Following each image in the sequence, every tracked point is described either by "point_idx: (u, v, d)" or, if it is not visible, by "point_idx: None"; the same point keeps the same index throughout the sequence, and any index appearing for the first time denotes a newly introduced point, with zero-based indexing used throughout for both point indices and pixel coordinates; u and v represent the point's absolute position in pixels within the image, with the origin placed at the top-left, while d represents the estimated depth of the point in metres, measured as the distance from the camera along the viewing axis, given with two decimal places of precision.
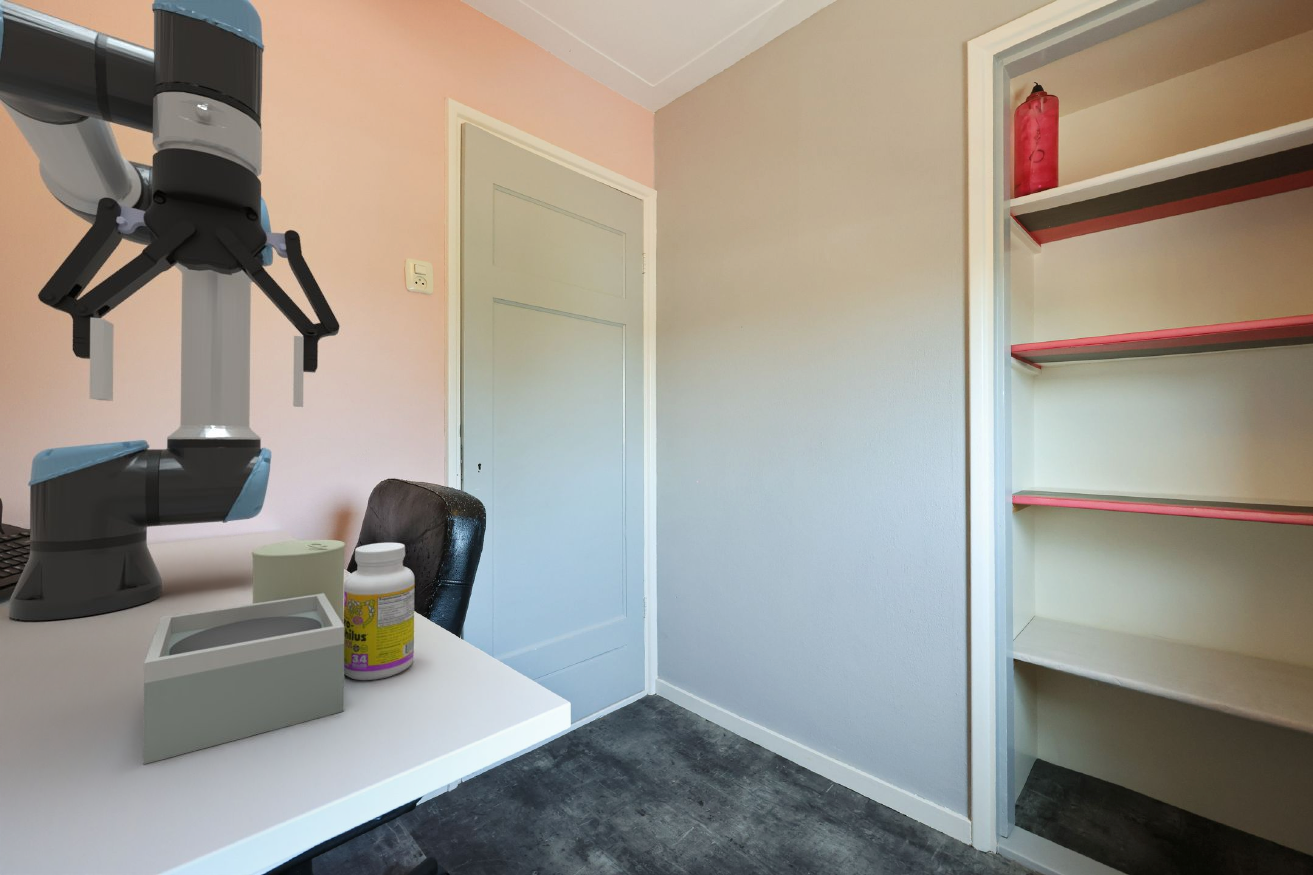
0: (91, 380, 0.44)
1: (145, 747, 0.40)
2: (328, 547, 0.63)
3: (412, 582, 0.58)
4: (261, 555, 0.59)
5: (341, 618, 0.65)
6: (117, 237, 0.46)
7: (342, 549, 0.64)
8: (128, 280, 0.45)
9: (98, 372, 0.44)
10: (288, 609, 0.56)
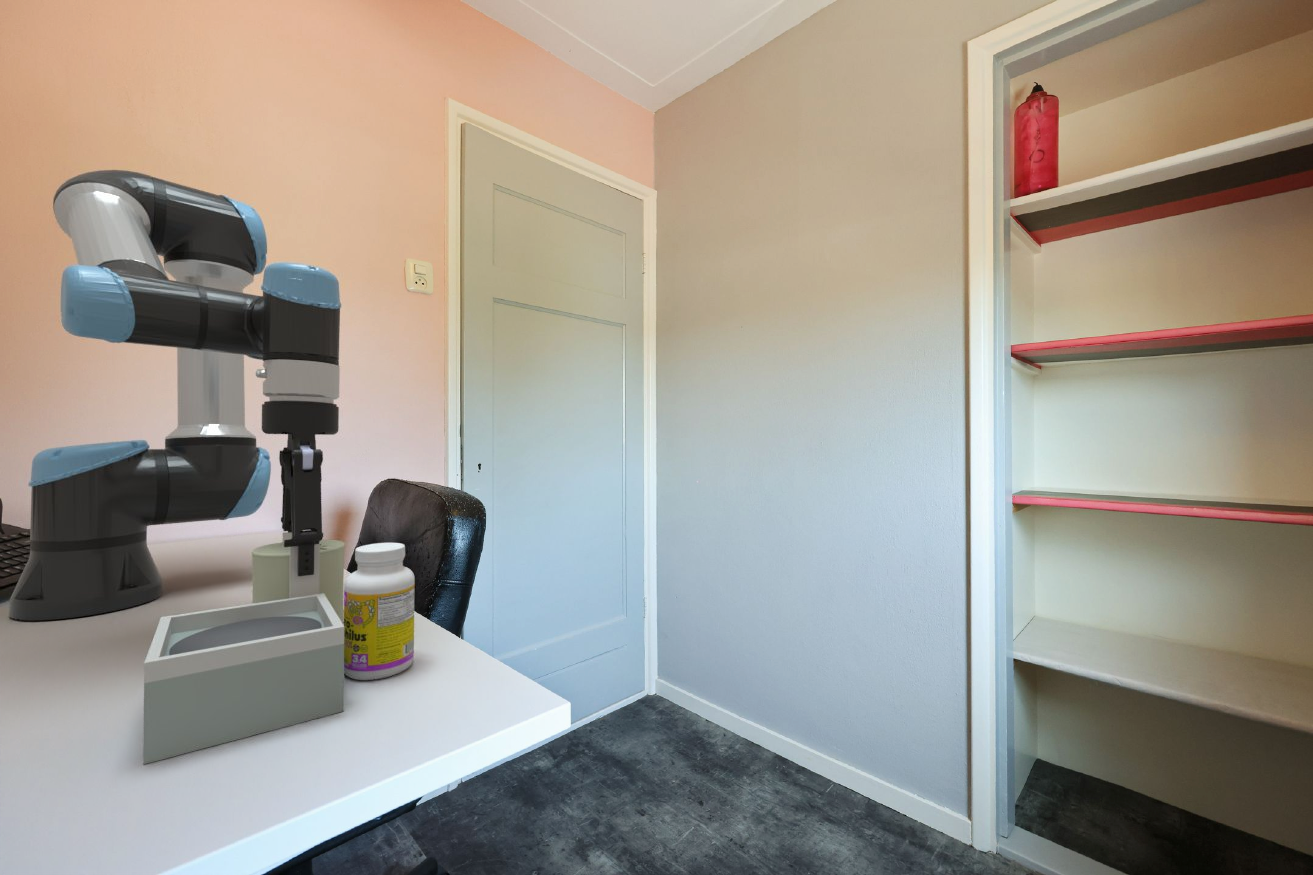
0: None
1: (145, 747, 0.40)
2: (328, 547, 0.63)
3: (412, 582, 0.58)
4: (261, 555, 0.59)
5: (341, 618, 0.65)
6: None
7: (342, 549, 0.64)
8: (285, 501, 0.66)
9: None
10: (288, 609, 0.56)
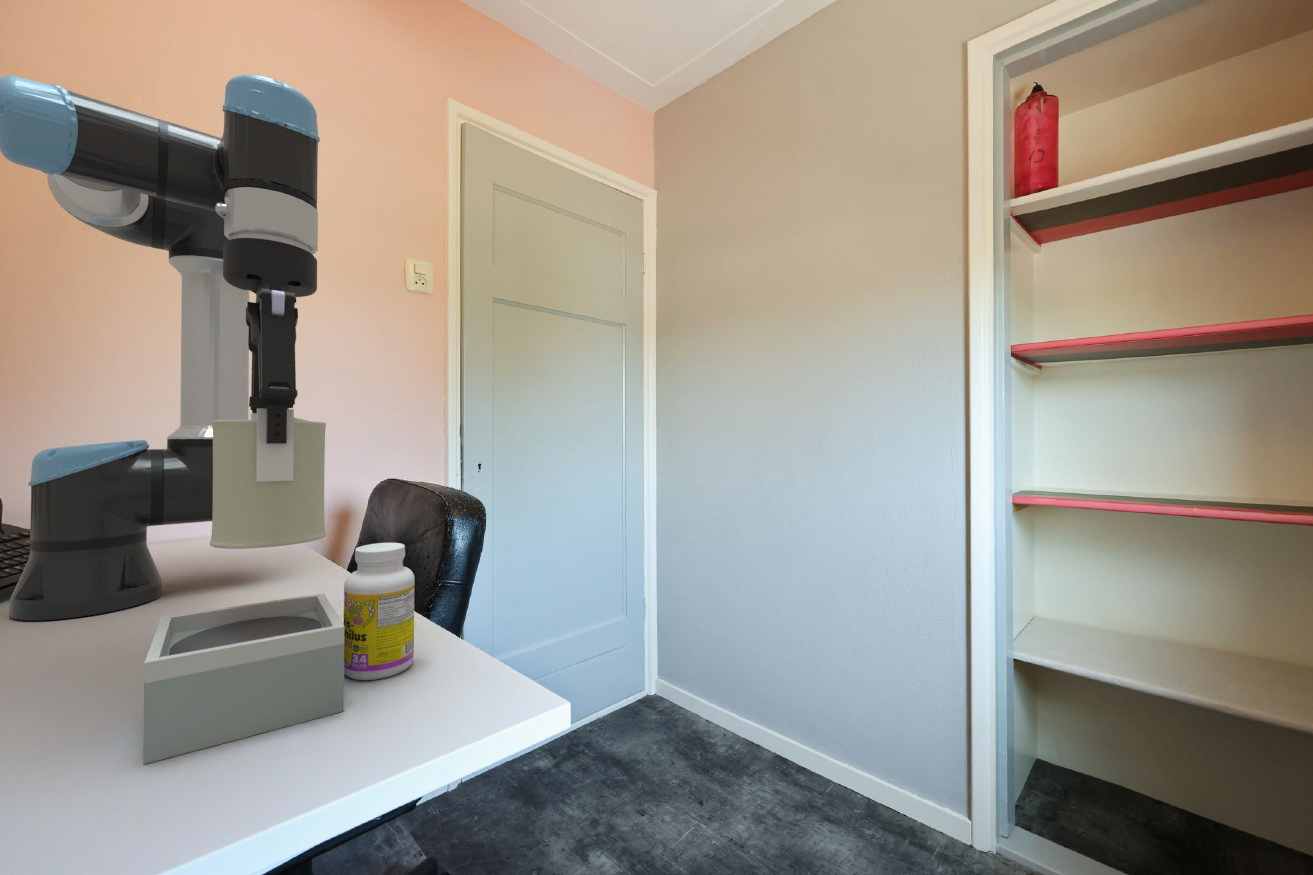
0: None
1: (145, 747, 0.40)
2: (305, 420, 0.53)
3: (412, 582, 0.58)
4: (222, 421, 0.49)
5: (321, 509, 0.54)
6: None
7: (322, 426, 0.54)
8: (253, 374, 0.55)
9: None
10: (288, 609, 0.56)
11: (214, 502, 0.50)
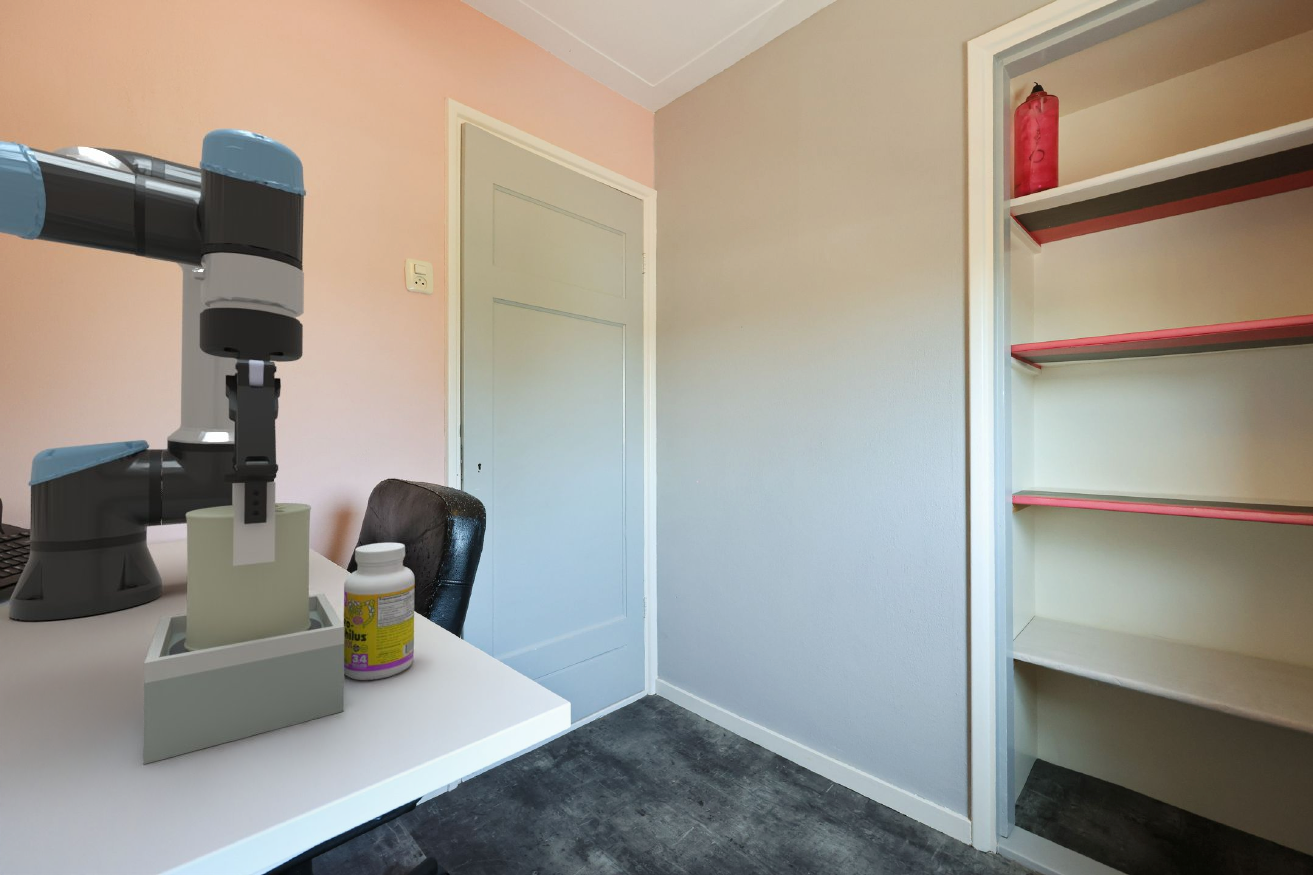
0: None
1: (145, 747, 0.40)
2: (287, 509, 0.49)
3: (412, 582, 0.58)
4: (195, 517, 0.45)
5: (305, 601, 0.51)
6: None
7: (306, 513, 0.50)
8: (235, 439, 0.53)
9: None
10: None
11: (188, 602, 0.46)
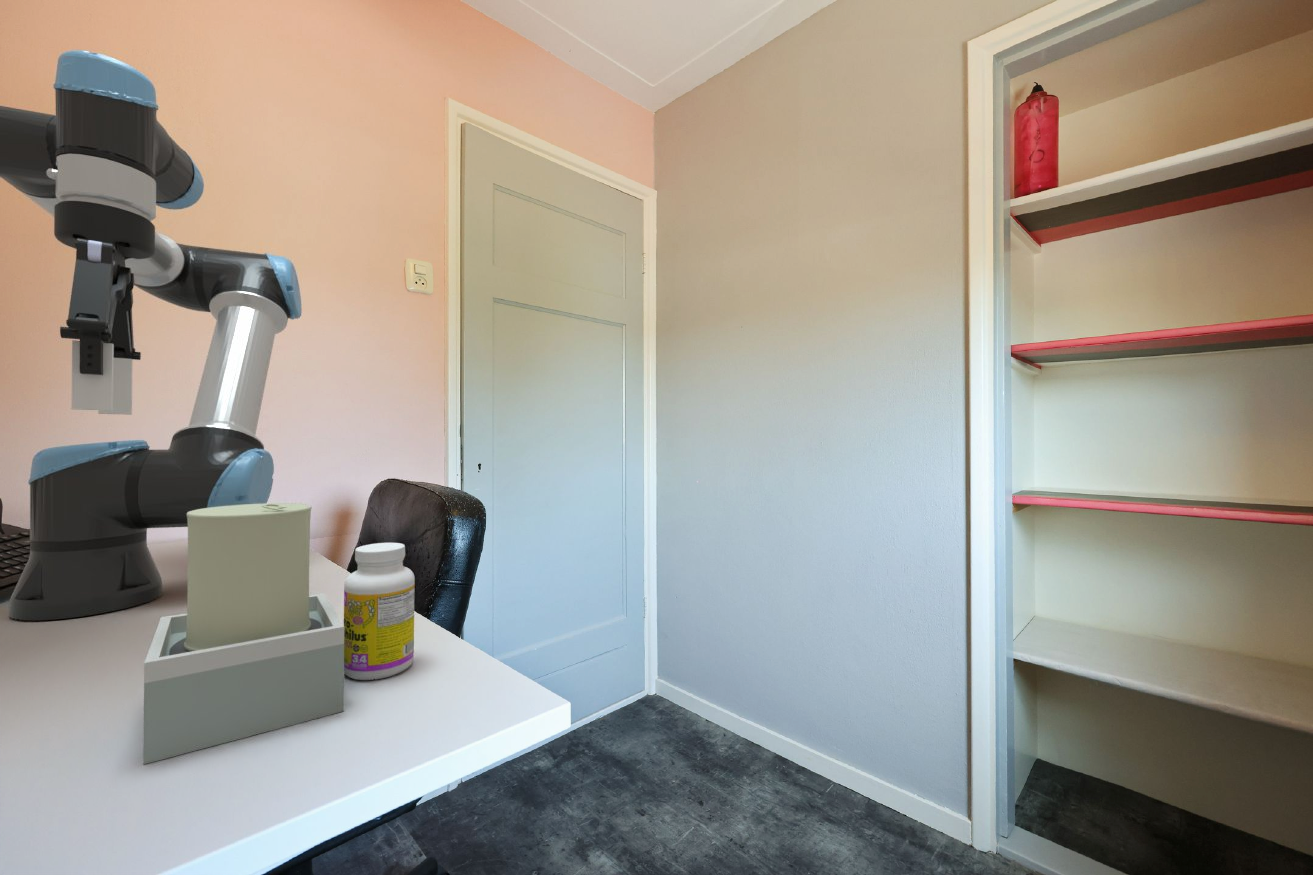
0: None
1: (145, 747, 0.40)
2: (288, 509, 0.49)
3: (412, 582, 0.58)
4: (197, 516, 0.45)
5: (305, 601, 0.51)
6: None
7: (307, 512, 0.51)
8: None
9: None
10: None
11: (188, 601, 0.46)
